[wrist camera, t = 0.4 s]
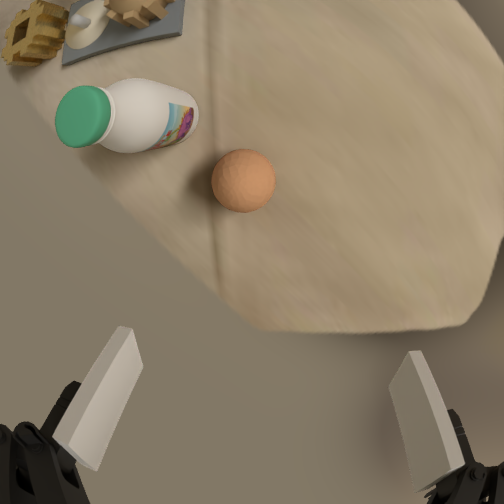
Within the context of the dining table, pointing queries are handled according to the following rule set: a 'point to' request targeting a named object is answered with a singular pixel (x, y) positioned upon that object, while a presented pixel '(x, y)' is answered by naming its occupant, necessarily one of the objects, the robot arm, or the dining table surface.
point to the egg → (243, 180)
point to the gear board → (118, 25)
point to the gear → (35, 34)
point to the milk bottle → (126, 116)
